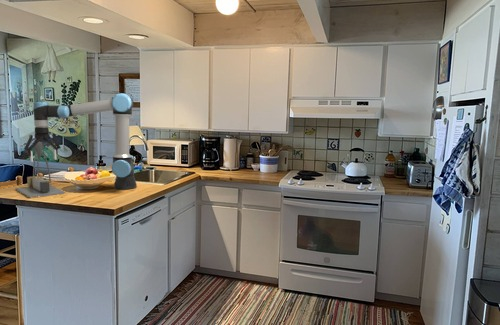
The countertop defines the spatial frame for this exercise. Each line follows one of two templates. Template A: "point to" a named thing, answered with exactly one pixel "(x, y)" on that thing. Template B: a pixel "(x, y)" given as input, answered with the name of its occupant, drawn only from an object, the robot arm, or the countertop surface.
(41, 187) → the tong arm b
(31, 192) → the cutting board
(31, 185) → the pivot block
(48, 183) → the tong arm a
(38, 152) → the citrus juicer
